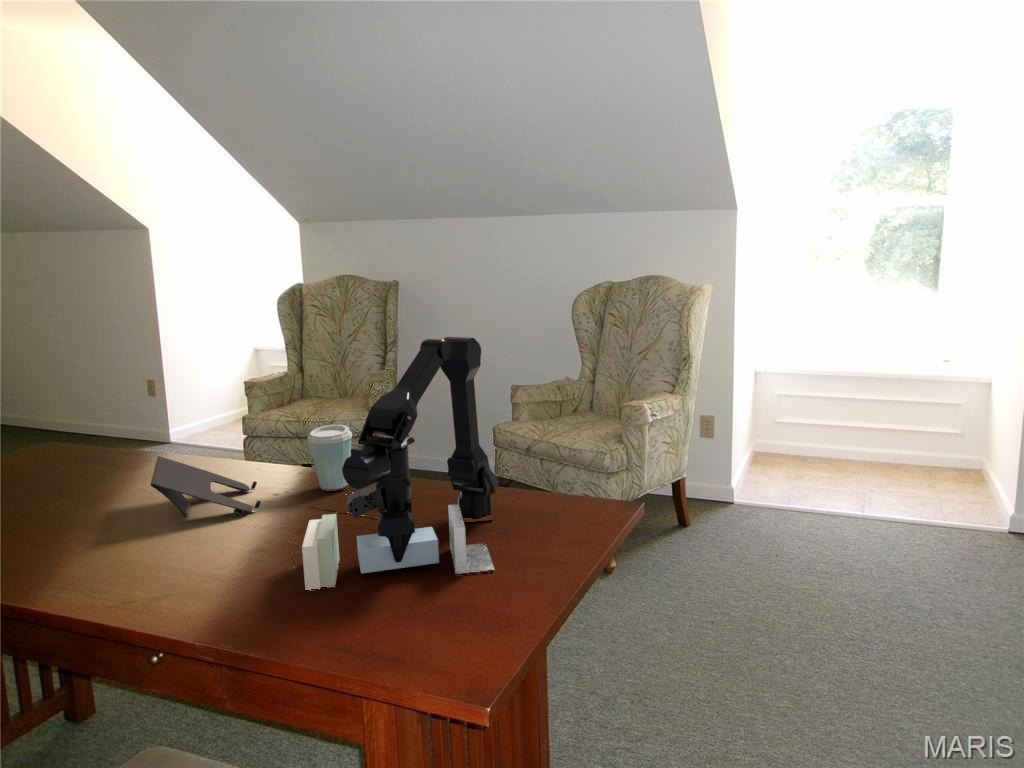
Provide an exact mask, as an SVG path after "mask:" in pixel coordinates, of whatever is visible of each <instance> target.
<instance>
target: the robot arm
mask: <svg viewBox="0 0 1024 768" xmlns="http://www.w3.org/2000/svg"><path fill="white" fill-rule="evenodd" d="M419 347H420V348H419V350H418V352H417V353H416V355H415V356H414V359H413V360H412V361H411V363H410V364H409V366H408V367H407V369H406V371H405V372H404V373H403V375H402V376H401V378H400V380H399V381H398V383H397V384H396V385H395V387H394V388H393V389H392V390H391V391H388V392H387V393H385V394H383V395H381V396H380V397H379V398H378V400H376V402H374V403H373V405H372V406H371V407H370V409H369V411H368V413H367V416H366V420H365V422H364V425H363V427H362V430H361V432H360V435H359V438H358V441H357V443H358V445H359V447H357V446H356V447H353V448H351V452H350V457H348V458H347V459H346V460H345V462H344V465H343V467H342V472H343V476H344V479H345V480H346V482H347V483H348V486H350V487H351V488H353V489H355V490H357V491H354V492H352V494H350V495H347V497H346V501H345V503H346V505H347V507H348V513H351V514H352V515H351V516H352V518H354V519H356V518H359V517H360V516H361V515H364V514H366V513H368V512H370V511H373V510H375V509H376V508H377V511H376V512H377V513H378V512H379V513H380V516H379V517H377V518H378V520H377V534H378V536H381V537H383V536H385V537H386V538H388V540H389V543H390V546H391V549H392V553H393V556H394V559H395V562H401V561H402V559H403V556H404V553H405V551H406V548H407V546H408V543H409V541H410V538H411V536H412V534H413V533H415V529H416V528H415V518H414V517H415V516H414V514H412V509H413V507H412V500H413V499H412V489H411V479H410V478H411V477H410V476H411V475H410V460H409V458H410V457H409V446H410V445H411V444H413V443H415V442H416V440H415V438H414V437H412V436H411V435H409V434H410V433H411V431H412V430H413V427H414V425H415V422H416V420H417V418H418V408H417V406H418V404H419V402H420V401H421V399H422V397H423V395H424V394H425V392H426V390H427V389H428V387H429V386H430V384H431V383H432V381H433V379H434V378H435V376H436V374H437V373H438V371H439V370H440V369H441V371H442V372H443V374H444V376H445V377H446V378H447V380H448V381H449V385H450V386H449V387H450V399H451V401H450V402H451V411H452V421H453V432H454V444H455V448H454V450H453V453H452V454H451V456H450V457H448V458H447V461H446V463H447V468H448V469H447V470H448V471H447V476H448V477H449V480H450V484H451V487H452V490H453V491H458V492H459V493H460V495H457V504H459V507H460V511H461V514H462V518H472V519H479V518H482V517H485V516H487V515H492V496H491V495H492V494H495V493H497V492H496V491H497V490H498V489H499V488H498V487H499V479H498V477H497V476H496V475H495V473H494V472H493V470H491V468H490V463H489V456H488V454H486V452H485V450H483V448H482V446H481V445H480V439H479V427H478V426H479V425H478V413H477V403H476V389H475V388H476V387H475V378H476V375H477V373H478V371H479V369H480V368H481V364H482V363H481V362H482V361H481V360H482V359H481V358H482V357H481V356H482V347H481V345H480V342H479V341H478V340H477V339H476V338H474V337H468V336H467V337H463V336H462V337H461V336H445V337H444V338H443V339H440V338H427V339H424V340H423V341H422V342H421V344H420V346H419ZM376 435H377V436H376ZM374 483H375V484H374ZM360 518H361V517H360Z"/></svg>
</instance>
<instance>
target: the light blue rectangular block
mask: <svg viewBox="0 0 1024 768" xmlns="http://www.w3.org/2000/svg"><path fill="white" fill-rule="evenodd" d="M356 544H357V547H356V549H357V558H358V563H359V564H358V565H359V569H360V574H367V573H375V572H383V571H389V570H397V569H403V568H404V569H405V568H411V567H418V566H425V565H431V564H440V557H439V556H440V554H439V553H440V552H439V539H438V537H437V534H436V533H435V530H434V528H433V527H432V526H427V527H419V528H415V533H413V534H412V536H411V538H410V541H409V543H408V546H407V548H406V551H405V553H404V556H403V559H402V561H401V562H395V559H394V556H393V553H392V549H391V546H390V543H389V540H388V538H386V537H385V536H383V537H381V536H378V533H372V534H365V535H363V534H362V535H356Z"/></svg>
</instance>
